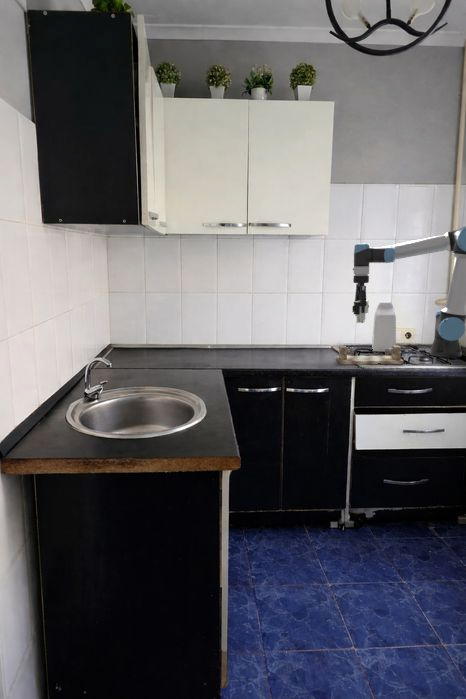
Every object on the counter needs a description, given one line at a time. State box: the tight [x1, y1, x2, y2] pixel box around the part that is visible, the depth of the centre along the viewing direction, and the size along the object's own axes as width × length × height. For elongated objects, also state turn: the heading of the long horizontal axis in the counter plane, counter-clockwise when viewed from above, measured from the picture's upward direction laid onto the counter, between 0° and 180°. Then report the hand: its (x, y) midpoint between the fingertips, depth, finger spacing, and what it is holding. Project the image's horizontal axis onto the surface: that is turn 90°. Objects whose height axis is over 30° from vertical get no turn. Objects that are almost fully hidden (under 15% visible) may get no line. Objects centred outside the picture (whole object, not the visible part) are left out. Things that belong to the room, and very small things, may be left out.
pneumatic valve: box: [352, 299, 369, 324], centre depth 260 cm, size 6×12×12 cm, turn 148°
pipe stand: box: [336, 344, 404, 365], centre depth 253 cm, size 30×12×8 cm, turn 87°
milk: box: [371, 301, 397, 353], centre depth 278 cm, size 12×12×26 cm
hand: (360, 317), depth 261 cm, fingers closed on pneumatic valve, 12 cm apart
